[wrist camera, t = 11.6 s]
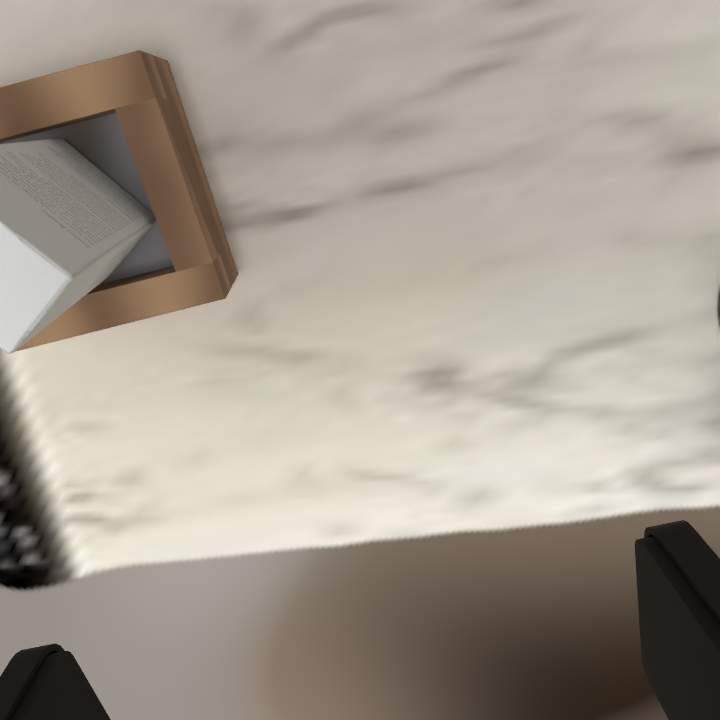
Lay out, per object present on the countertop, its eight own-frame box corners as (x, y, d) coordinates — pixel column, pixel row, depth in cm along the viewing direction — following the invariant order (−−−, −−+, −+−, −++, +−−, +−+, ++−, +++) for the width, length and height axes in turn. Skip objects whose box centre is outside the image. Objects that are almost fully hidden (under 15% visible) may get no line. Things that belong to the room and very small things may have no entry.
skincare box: (16, 199, 30) (-160, 245, 19) (63, 135, 29) (-95, 145, 18) (115, 277, 32) (8, 360, 21) (162, 219, 31) (76, 275, 20)
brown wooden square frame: (167, 61, 31) (139, 50, 26) (238, 274, 36) (225, 298, 31) (-46, 117, 31) (-112, 117, 27) (51, 321, 36) (10, 352, 31)
